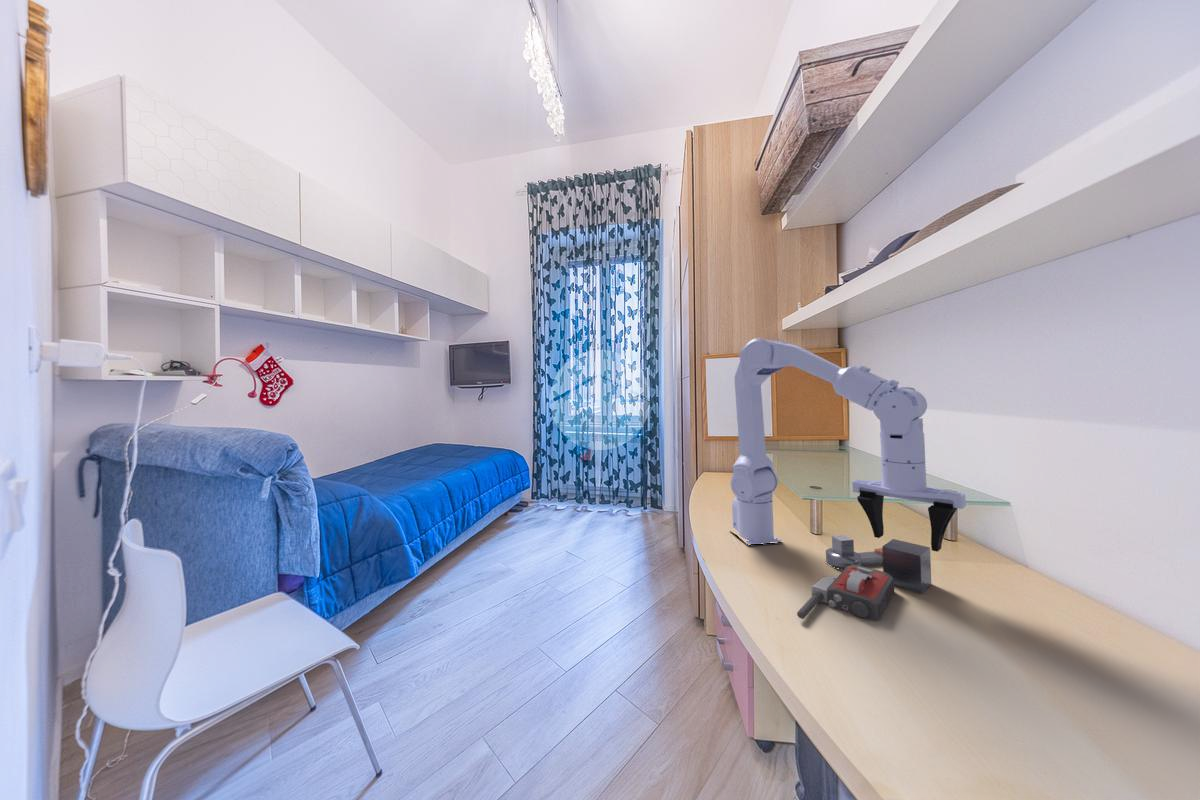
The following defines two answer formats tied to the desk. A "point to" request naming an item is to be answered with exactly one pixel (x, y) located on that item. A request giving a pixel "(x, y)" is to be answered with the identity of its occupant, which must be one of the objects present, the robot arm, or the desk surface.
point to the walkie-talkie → (853, 592)
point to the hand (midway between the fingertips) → (906, 542)
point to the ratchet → (850, 554)
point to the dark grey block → (907, 565)
